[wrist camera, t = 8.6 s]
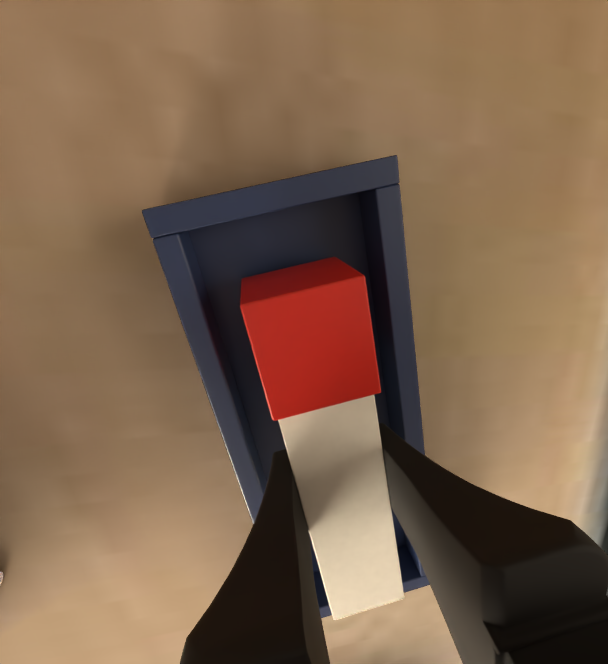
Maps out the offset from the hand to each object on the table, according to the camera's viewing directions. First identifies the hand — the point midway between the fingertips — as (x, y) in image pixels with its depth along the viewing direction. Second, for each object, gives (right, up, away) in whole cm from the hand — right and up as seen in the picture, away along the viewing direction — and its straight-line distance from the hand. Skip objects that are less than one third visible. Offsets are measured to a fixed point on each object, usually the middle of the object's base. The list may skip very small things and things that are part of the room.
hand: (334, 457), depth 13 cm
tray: (0, +1, +3) cm, 3 cm away
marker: (0, 0, +1) cm, 1 cm away
